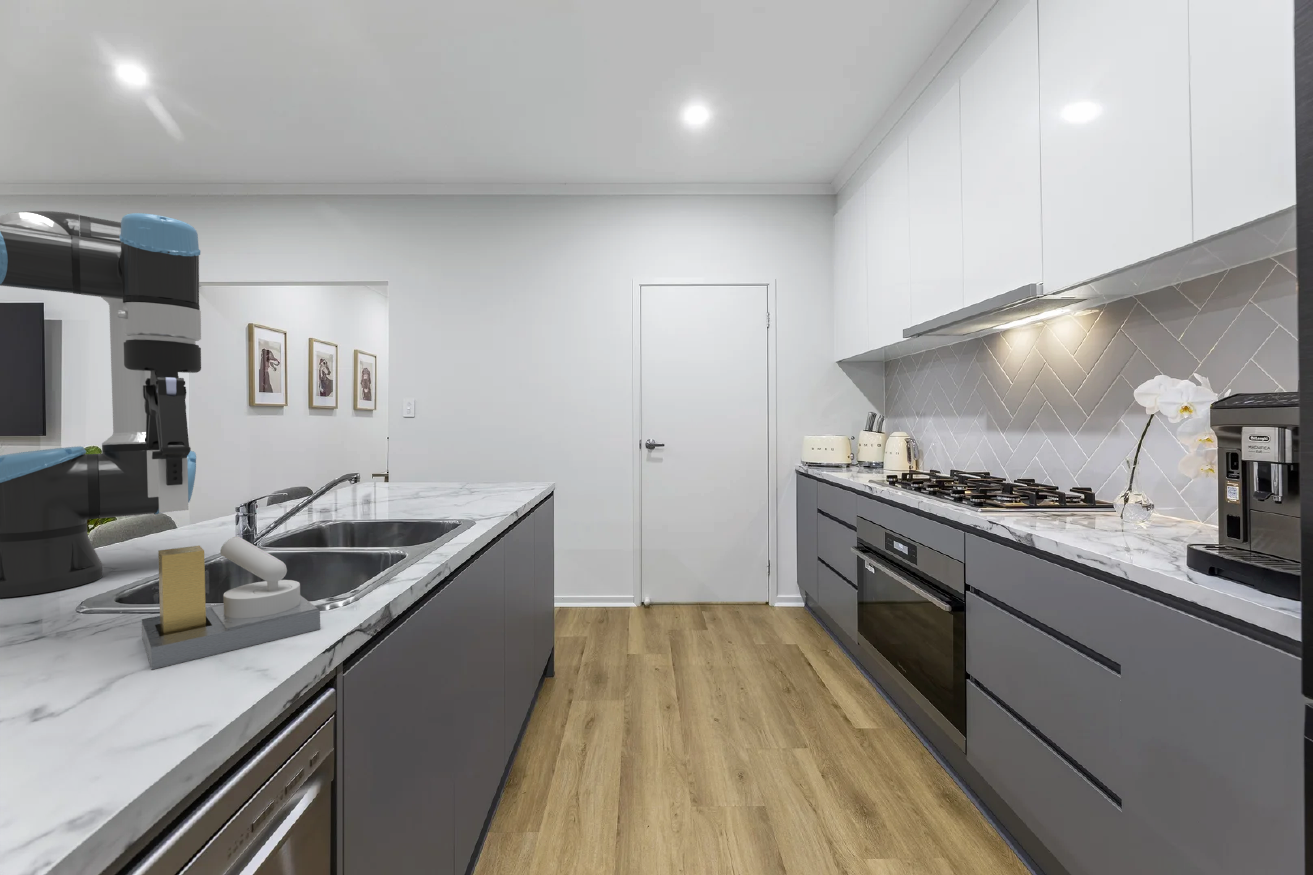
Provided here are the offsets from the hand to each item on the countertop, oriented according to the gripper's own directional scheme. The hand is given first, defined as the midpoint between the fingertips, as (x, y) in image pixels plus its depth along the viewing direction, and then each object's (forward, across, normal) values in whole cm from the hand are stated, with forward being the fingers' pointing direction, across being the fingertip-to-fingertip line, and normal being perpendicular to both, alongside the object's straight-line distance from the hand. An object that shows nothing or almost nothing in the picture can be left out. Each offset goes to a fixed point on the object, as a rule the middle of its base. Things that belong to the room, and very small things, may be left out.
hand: (167, 503), depth 74 cm
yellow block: (+17, +7, +1) cm, 18 cm away
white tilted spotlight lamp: (+15, +6, +9) cm, 18 cm away
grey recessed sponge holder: (+17, +7, +6) cm, 19 cm away
